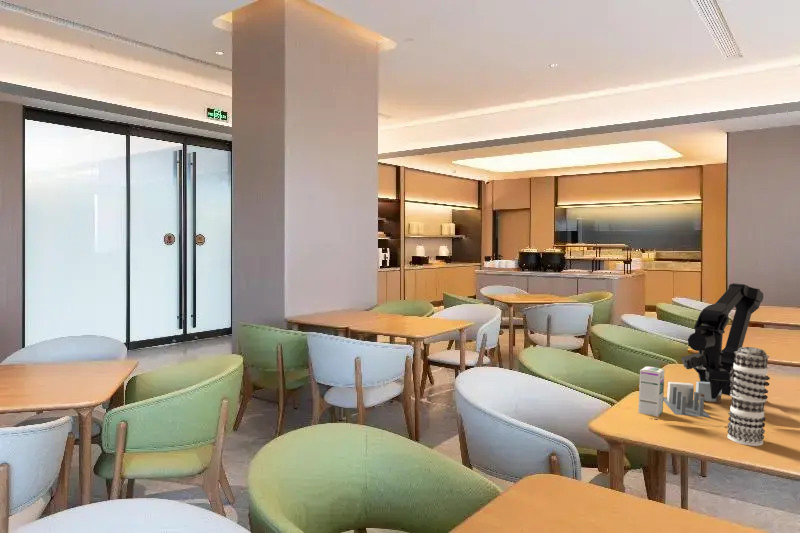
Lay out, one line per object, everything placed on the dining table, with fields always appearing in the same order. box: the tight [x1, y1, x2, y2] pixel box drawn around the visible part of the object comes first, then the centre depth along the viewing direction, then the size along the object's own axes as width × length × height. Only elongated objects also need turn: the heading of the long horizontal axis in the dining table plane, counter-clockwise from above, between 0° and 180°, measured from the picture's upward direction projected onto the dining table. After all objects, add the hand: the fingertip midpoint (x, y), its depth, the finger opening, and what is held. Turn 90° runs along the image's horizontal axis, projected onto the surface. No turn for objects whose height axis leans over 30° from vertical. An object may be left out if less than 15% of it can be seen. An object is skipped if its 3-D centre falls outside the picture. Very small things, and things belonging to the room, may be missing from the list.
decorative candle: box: [726, 346, 771, 447], centre depth 153 cm, size 9×9×25 cm
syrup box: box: [637, 366, 665, 421], centre depth 171 cm, size 6×6×14 cm
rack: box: [663, 386, 711, 418], centre depth 178 cm, size 10×18×7 cm, turn 169°
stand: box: [700, 394, 722, 404], centre depth 186 cm, size 8×6×3 cm
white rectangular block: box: [666, 381, 695, 403], centre depth 183 cm, size 7×2×6 cm, turn 79°
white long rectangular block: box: [695, 380, 723, 403], centre depth 186 cm, size 7×2×6 cm, turn 79°
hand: (708, 394), depth 186 cm, fingers open, 9 cm apart
